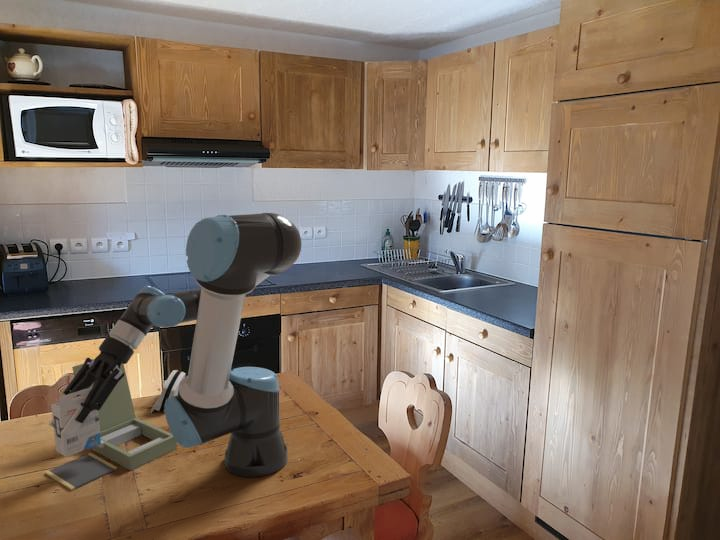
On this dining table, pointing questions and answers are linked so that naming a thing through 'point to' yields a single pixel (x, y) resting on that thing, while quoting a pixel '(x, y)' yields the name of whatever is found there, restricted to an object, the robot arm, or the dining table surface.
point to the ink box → (85, 433)
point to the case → (127, 429)
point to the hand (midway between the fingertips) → (60, 430)
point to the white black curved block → (169, 389)
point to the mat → (81, 471)
